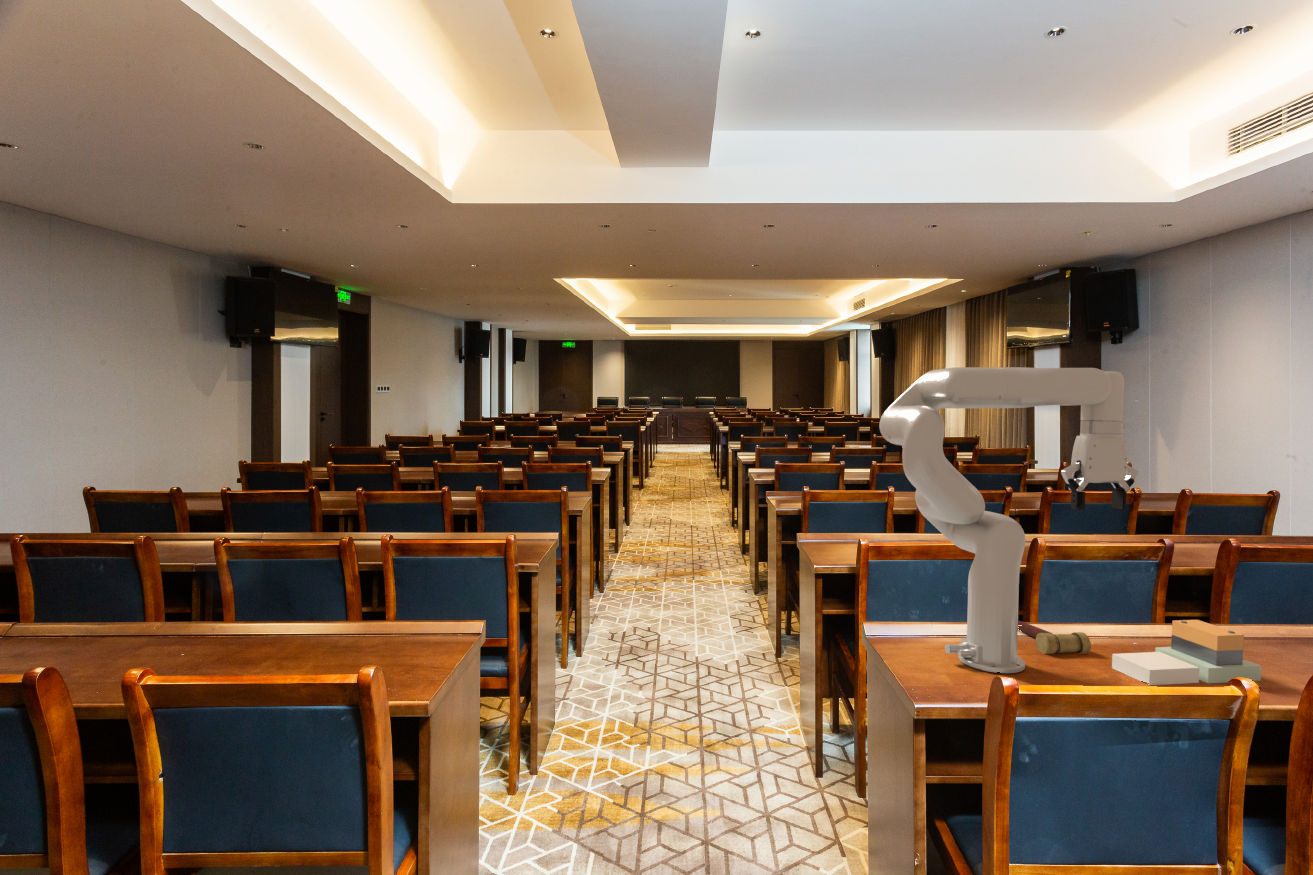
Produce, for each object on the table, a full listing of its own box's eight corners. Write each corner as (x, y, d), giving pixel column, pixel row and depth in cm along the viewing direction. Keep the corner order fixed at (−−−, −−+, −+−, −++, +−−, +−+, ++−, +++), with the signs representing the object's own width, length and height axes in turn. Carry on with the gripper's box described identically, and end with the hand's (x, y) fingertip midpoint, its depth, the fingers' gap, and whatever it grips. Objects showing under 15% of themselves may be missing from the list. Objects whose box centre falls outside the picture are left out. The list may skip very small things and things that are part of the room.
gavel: (992, 614, 168) (1031, 613, 169) (993, 632, 168) (1031, 631, 169) (1048, 635, 148) (1091, 635, 148) (1048, 657, 147) (1091, 656, 148)
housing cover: (1171, 634, 144) (1172, 619, 144) (1196, 633, 145) (1197, 618, 145) (1217, 650, 134) (1217, 634, 134) (1243, 649, 135) (1244, 633, 135)
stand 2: (1208, 683, 133) (1208, 668, 133) (1154, 661, 145) (1155, 647, 145) (1260, 680, 135) (1261, 665, 135) (1204, 658, 147) (1204, 645, 146)
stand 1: (1149, 685, 132) (1149, 669, 132) (1111, 667, 141) (1112, 653, 141) (1198, 682, 133) (1199, 667, 133) (1158, 665, 142) (1159, 651, 142)
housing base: (1171, 648, 144) (1171, 634, 144) (1195, 647, 145) (1196, 633, 145) (1216, 665, 134) (1216, 650, 134) (1242, 664, 135) (1243, 649, 135)
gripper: (1122, 429, 149) (1120, 506, 150) (1051, 428, 147) (1049, 507, 148) (1152, 430, 142) (1149, 511, 143) (1077, 429, 140) (1074, 512, 140)
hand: (1098, 509), depth 145 cm, fingers open, 9 cm apart
